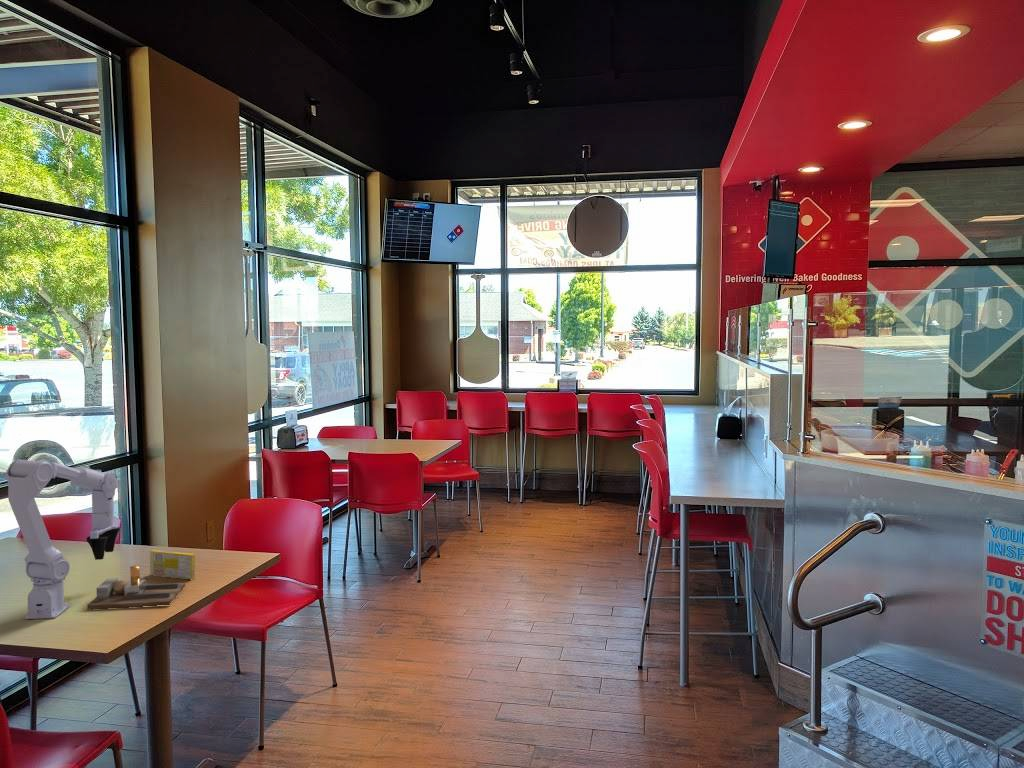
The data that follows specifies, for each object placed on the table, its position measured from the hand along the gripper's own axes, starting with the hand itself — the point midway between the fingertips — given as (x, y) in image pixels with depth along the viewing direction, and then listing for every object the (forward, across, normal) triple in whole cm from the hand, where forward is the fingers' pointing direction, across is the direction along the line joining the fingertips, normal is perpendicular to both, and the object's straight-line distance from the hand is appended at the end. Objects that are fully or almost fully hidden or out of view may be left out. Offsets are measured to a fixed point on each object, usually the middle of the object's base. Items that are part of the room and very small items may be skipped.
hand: (104, 555), depth 224 cm
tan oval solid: (+7, -10, -8) cm, 15 cm away
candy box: (+11, +9, -17) cm, 22 cm away
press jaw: (+9, -10, -12) cm, 18 cm away
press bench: (+10, -10, -13) cm, 19 cm away
